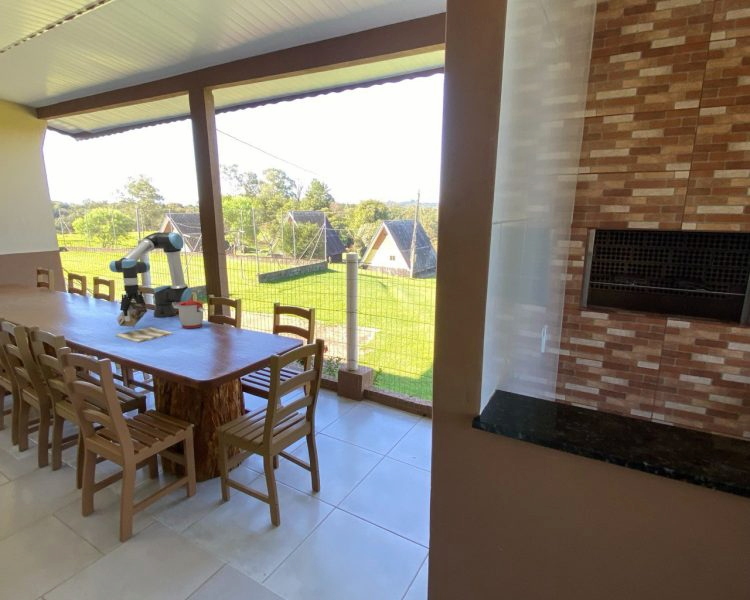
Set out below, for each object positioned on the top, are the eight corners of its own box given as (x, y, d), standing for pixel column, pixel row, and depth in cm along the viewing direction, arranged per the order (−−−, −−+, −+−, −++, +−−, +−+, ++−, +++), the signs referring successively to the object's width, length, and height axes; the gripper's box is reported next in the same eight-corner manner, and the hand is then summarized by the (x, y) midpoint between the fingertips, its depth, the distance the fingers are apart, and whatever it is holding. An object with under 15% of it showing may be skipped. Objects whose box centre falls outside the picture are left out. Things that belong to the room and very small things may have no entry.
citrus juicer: (196, 330, 253) (195, 301, 249) (174, 328, 256) (172, 299, 253) (211, 325, 268) (209, 297, 264) (189, 323, 271) (187, 296, 268)
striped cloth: (150, 329, 254) (150, 327, 254) (172, 334, 243) (172, 332, 243) (115, 336, 235) (115, 334, 235) (137, 342, 224) (137, 340, 224)
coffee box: (130, 319, 245) (144, 303, 241) (133, 327, 243) (148, 311, 239) (116, 318, 237) (130, 301, 233) (119, 326, 235) (133, 309, 231)
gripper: (139, 281, 246) (142, 314, 250) (110, 286, 224) (114, 322, 228) (150, 282, 245) (152, 315, 249) (121, 287, 223) (125, 323, 227)
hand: (134, 319), depth 238 cm, fingers closed on coffee box, 10 cm apart
